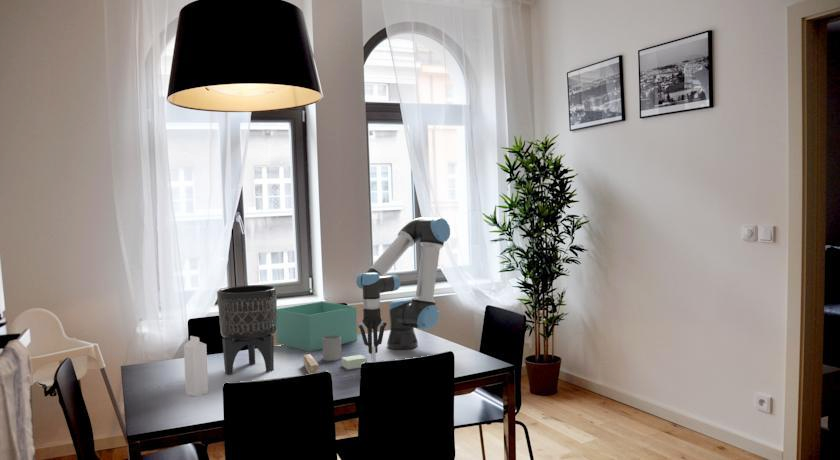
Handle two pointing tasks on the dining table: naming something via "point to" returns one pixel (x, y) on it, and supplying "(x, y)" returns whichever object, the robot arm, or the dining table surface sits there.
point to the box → (315, 324)
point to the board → (310, 364)
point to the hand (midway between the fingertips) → (373, 360)
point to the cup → (331, 347)
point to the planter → (248, 322)
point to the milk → (195, 367)
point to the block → (353, 361)
